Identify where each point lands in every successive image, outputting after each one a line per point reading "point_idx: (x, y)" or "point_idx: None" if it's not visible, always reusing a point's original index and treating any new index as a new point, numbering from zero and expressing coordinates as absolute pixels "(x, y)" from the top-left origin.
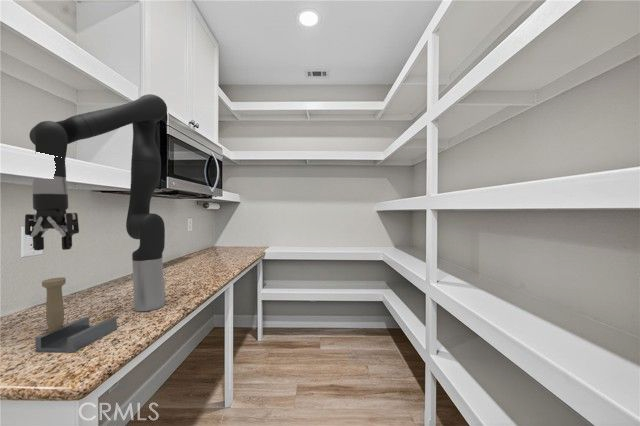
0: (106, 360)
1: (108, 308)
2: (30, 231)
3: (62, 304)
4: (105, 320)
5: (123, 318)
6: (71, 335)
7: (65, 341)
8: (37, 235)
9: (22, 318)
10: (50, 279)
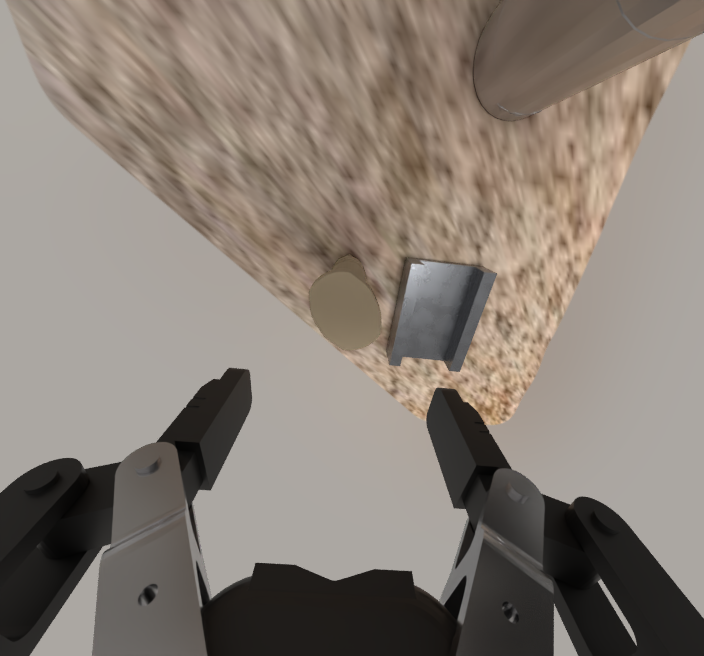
0: (513, 382)
1: (365, 47)
2: (84, 548)
3: (365, 280)
4: (478, 293)
5: (469, 185)
6: (414, 312)
7: (421, 336)
8: (191, 496)
9: (144, 142)
10: (324, 304)
